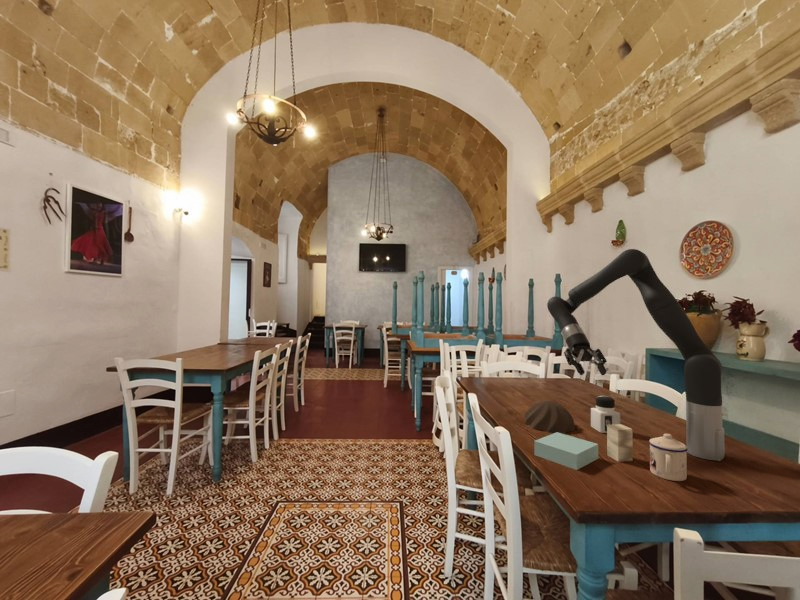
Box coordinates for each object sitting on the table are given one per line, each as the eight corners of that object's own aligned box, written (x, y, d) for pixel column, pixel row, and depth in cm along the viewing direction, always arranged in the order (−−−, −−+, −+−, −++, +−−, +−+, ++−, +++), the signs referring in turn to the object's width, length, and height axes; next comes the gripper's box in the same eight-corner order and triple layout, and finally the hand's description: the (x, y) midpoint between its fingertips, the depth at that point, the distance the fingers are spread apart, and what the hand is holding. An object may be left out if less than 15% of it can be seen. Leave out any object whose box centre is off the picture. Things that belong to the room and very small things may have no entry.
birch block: (621, 454, 121) (620, 424, 121) (632, 460, 116) (632, 429, 116) (607, 455, 120) (607, 424, 121) (618, 461, 115) (618, 429, 116)
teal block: (598, 459, 118) (598, 444, 118) (576, 471, 109) (576, 454, 109) (556, 446, 129) (556, 432, 129) (534, 456, 120) (534, 440, 120)
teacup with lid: (649, 465, 113) (649, 427, 113) (686, 473, 108) (686, 433, 108) (648, 480, 103) (648, 438, 103) (689, 489, 98) (689, 445, 98)
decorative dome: (520, 428, 147) (520, 403, 147) (527, 415, 165) (527, 393, 165) (574, 436, 138) (573, 410, 138) (575, 422, 156) (575, 398, 156)
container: (620, 433, 142) (620, 399, 142) (600, 433, 142) (600, 399, 142) (609, 426, 149) (609, 394, 149) (590, 426, 149) (590, 394, 150)
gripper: (562, 331, 139) (580, 368, 128) (596, 332, 141) (617, 368, 130) (554, 343, 144) (570, 379, 133) (587, 344, 147) (605, 379, 135)
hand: (593, 374), depth 132 cm, fingers open, 8 cm apart
